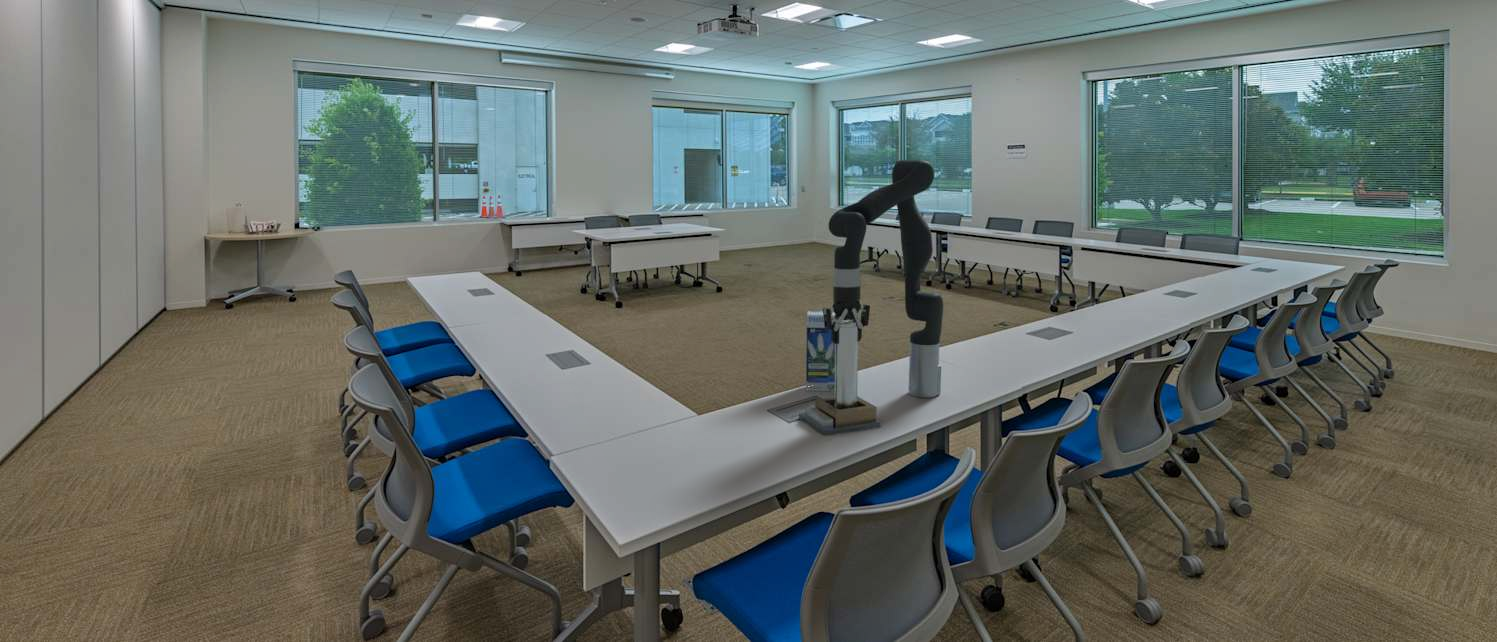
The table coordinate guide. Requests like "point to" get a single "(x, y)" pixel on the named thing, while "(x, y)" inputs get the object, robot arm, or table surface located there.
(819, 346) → the string lights box
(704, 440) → the table surface
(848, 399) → the white tall cylinder
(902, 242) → the robot arm
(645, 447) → the table surface
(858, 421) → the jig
